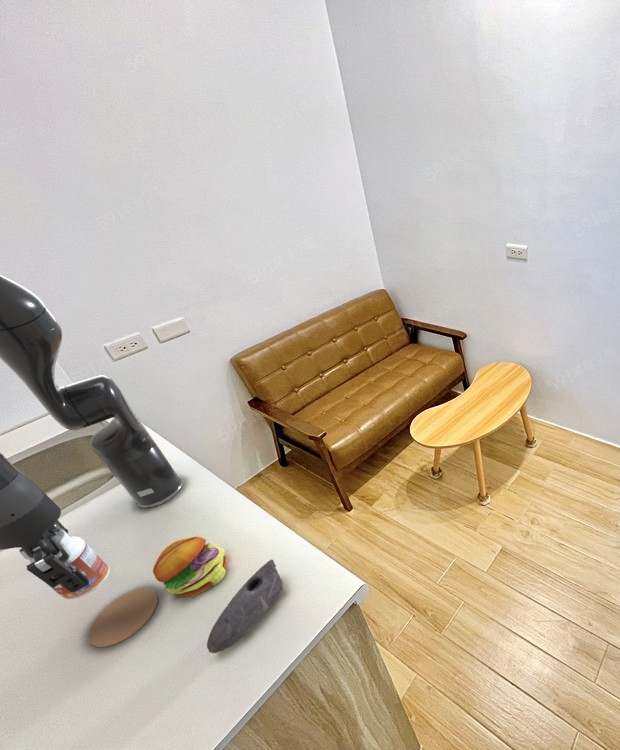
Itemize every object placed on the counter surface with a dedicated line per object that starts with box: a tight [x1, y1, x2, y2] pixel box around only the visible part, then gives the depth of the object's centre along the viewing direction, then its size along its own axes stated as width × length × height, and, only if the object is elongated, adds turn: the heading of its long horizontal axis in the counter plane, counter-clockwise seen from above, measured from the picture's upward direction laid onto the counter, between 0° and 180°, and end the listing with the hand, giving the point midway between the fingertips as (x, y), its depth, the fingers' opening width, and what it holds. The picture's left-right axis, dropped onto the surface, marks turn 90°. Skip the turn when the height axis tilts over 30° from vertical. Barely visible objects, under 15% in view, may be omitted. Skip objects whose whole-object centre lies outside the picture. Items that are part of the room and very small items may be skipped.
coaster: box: [88, 588, 159, 648], centre depth 72 cm, size 10×10×1 cm
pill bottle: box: [27, 530, 111, 600], centre depth 63 cm, size 6×6×11 cm
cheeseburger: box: [152, 536, 228, 598], centre depth 76 cm, size 10×11×10 cm
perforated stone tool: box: [206, 559, 284, 654], centre depth 70 cm, size 15×5×7 cm, turn 156°
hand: (78, 573), depth 64 cm, fingers closed on pill bottle, 6 cm apart
